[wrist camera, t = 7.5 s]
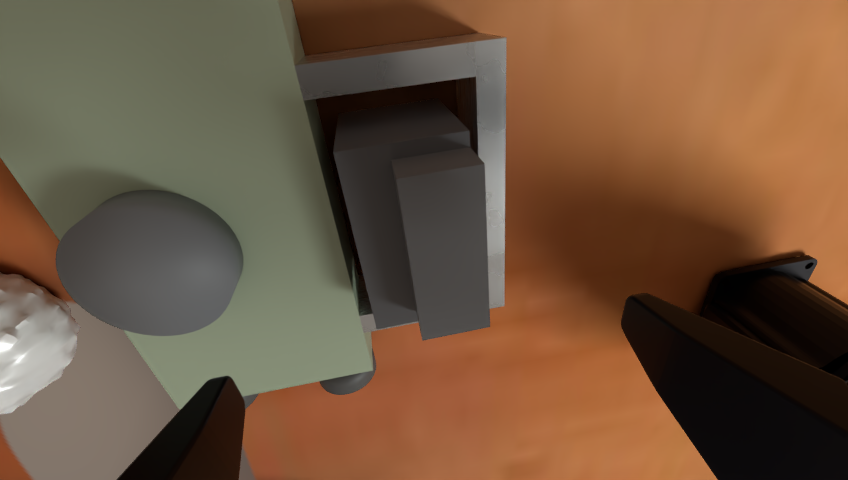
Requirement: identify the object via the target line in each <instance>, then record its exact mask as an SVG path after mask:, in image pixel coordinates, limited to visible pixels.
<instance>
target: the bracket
mask: <svg viewBox="0 0 848 480" xmlns="http://www.w3.org/2000/svg"><path fill="white" fill-rule="evenodd" d="M295 70H296V74H297V78H298V81H299V85H300V89H301V93H302V97H303V101H304V100H311V99H318V98H326V97H333V96H340V95H347V94H354V93H361V92H368V91H375V90H383V89H390V88H397V87H404V86H411V85H418V84H425V83H432V82H440V81H447V80H454V79H456V94H457V112H458V119H459V120H460V121H461V122H462V123H463V124H464V126H465V127H466V128H467V129H468V130H469V134H470V147H471V149H472V150H473V151H474V152H475V153H476V154H477V155H478V157H479V158H480V159H481V160H482V161H483V162H484V164H485V186H486V217H487V248H488V280H489V309H491V308H496V307H501V306H504V278H505V146H506V37H501V36H495V35H490V34H484V33H473V34H465V35H457V36H450V37H442V38H434V39H427V40H419V41H412V42H404V43H396V44H389V45H381V46H373V47H366V48H358V49H350V50H343V51H335V52H328V53H320V54H312V55H305V56H304V57H303V58H302V59H301V60H300V61H299V62H298V63H297V64H296V65H295ZM358 286H359V317H360V321H361V325H362V329H363V333H366V332H371V331H376V330H381V329H376V325H375V320H374V316H373V312H372V308H371V304H370V300H369V296H368V292H367V288H366V284H365V280H364V276H363V275H359V276H358ZM413 323H418V321H417V322H412V323H407V324H413ZM407 324H402V325H407ZM402 325H397V326H402ZM397 326H392V327H397ZM392 327H387V328H392ZM387 328H382V329H387Z"/></svg>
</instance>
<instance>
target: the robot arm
mask: <svg viewBox="0 0 848 480" xmlns="http://www.w3.org/2000/svg"><path fill="white" fill-rule="evenodd" d="M816 265H817V260H816V259H814V258H813V257H811V256H809V255H806V256H801V257H795V258H790V259H785V260H780V261H775V262H770V263H764V264H759V265H754V266H749V267H744V268H739V269H733V270H728V271H723V272H720V273H718V274H717V275H716V276H715V277H714V279H713V281H712V283H711V286H710V289H709V292H708V294H707V297H706V300H705V302H704V305H703V308H702V311H701V313H700V316H698V315H696V314H693V313H691V312H689V311H687V310H684V309H682V308H680V307H677V306H675V305H673V304H671V303H668V302H666V301H664V300H662V299H659V298H657V297H655V296H653V295H650V294H647V293H641V294H636V295H631V296H629V297H628V298H627V299H626V302H625V306H624V311H623V315H622V319H621V326H622V330H623V332H624V334H625V336H626V338H627V339H628V341H629V343H630V345H631V347H632V348H633V350H634V352H635V354H636V356H637V357H638V359H639V361H640V363H641V365H642V366H643V368H644V370H645V372H646V374H647V375H648V377H649V379H650V381H651V382H652V384H653V386H654V387H655V389H656V391H657V392H658V394H659V395H660V397H661V398H662V400H663V401H664V403H665V404H666V406H667V407H668V409H669V410H670V411H671V413H672V414H673V416H674V417H675V419H676V420H677V422H678V423H679V424H680V426H681V427H682V429H683V430H684V432H685V433H686V434H687V436H688V437H689V439H690V440H691V442H692V443H693V445H694V446H695V447H696V449H697V450H698V452H699V453H700V455H701V456H702V458H703V459H704V460H705V462H706V463H707V465H708V466H709V468H710V469H711V471H712V472H713V473H714V475H715V476H716V478H717V479H718V480H848V305H847V304H846V303H844V302H842V301H841V300H839V299H837V298H836V297H834V296H832V295H830V294H829V293H827V292H825V291H824V290H822V289H820V288H819V287H817V286H815V285H814V284H812V283H810V282H809V281H808V280H809V278H810V276H811V274H812V272H813V270H814V269H815V267H816ZM244 419H245V401H244V398H243V396H242V395H241V393H240V391H239V389H238V387H237V386H236V384H235V382H234V380H233V379H232V377H230V376H222V377H217V378H212V379H209V380H208V381H207V382H206V383H205V384H204V385H203V386H202V387H201V388H200V389H199V390H198V391H197V392H196V393H195V394H194V396H193V397H192V398H191V399H190V400H189V401H188V402H187V403H186V404H185V405H184V406H183V408H182V409H181V410H180V411H179V412H178V413H177V414H176V415H175V416H174V417H173V419H172V420H171V421H170V422H169V423H168V424H167V425H166V426H165V427H164V428H163V429H162V431H161V432H160V433H159V434H158V435H157V436H156V437H155V438H154V439H153V440H152V441H151V443H150V444H149V445H148V446H147V447H146V448H145V449H144V450H143V451H142V452H141V454H140V455H139V456H138V457H137V458H136V459H135V460H134V461H133V462H132V463H131V464H130V465H129V466H128V468H127V469H126V470H125V471H124V472H123V473H122V474H121V475H120V476H119V477H118V479H117V480H238V479H239V471H240V461H241V450H242V440H243V429H244Z"/></svg>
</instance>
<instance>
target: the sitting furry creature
mask: <svg viewBox="0 0 848 480" xmlns="http://www.w3.org/2000/svg"><path fill="white" fill-rule="evenodd" d="M79 330H80V326H79V324H78V323H76V321H75V319H74V318H73V317H71V310H70V308H69V307H68V305H67V304H66V303H65V302H64V301H63V300H62V299H59V298H57V297H55V296H53V295H52V294H51V293H50V292H49V291H48V290H47V289H46V288H44V287H42V286H38V285H36V284H35V283H33V282H32V281H31V280H30V279H26V278H24V277H23V276H22V275H19V274H8V275H6V274H2V273H1V272H0V414H9V413H12V412H13V411H14V410H15V409H16V408H17V407H18V406H23V405H24V404H25V403H26V402H27V401H28V400H29V399H30V398H31V397H32V396H33V395H34V394H35V393H36V392H38V391H39V390H41V389H43V388H45V387H46V386H47V385H49V384H50V383H51V382H53V381H55V380H57V379H58V378H60V377H61V375H62V373H63V371H64V368H65V367H66V366H67V365H68V364H69V363H70V362H71V360H72V359H73V358H74V355H75V352H76V346H77V334H78V331H79Z"/></svg>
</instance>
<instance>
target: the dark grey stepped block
mask: <svg viewBox="0 0 848 480" xmlns="http://www.w3.org/2000/svg"><path fill="white" fill-rule="evenodd" d="M333 154H334V158H335V162H336V166H337V170H338V174H339V178H340V182H341V186H342V190H343V194H344V199H345V203H346V207H347V211H348V215H349V219H350V223H351V227H352V231H353V235H354V239H355V243H356V247H357V251H358V255H359V259H360V264H361V268H362V272H363V276H364V280H365V284H366V288H367V292H368V296H369V300H370V304H371V308H372V312H373V316H374V320H375V325H376V329H382V328H387V327H392V326H397V325H402V324H407V323H412V322H417V321H418V322H419V326H420V331H421V336H422V340H427V339H432V338H437V337H442V336H447V335H452V334H457V333H462V332H467V331H472V330H477V329H482V328H487V327H490V311H489V280H488V248H487V217H486V186H485V164H484V162H483V161H482V160H481V159H480V158H479V157H478V155H477V154H476V153H475V152H474V151H473V150H472V149H471V147H470V134H469V130H468V129H467V128H466V127H465V126H464V124H463V123H462V122H461V121H460V120H459V119H458V118H457V117H456V116H455V115H454V114H453V113H452V112H451V111H450V110H449V109H448V108H447V107H446V106H445V105H444V104H443V103H442V102H441V101H440V100H439V99H438V98H434V99H428V100H421V101H415V102H408V103H402V104H395V105H389V106H382V107H376V108H369V109H363V110H356V111H350V112H344V113H338V120H337V127H336V135H335V142H334V150H333Z"/></svg>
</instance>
